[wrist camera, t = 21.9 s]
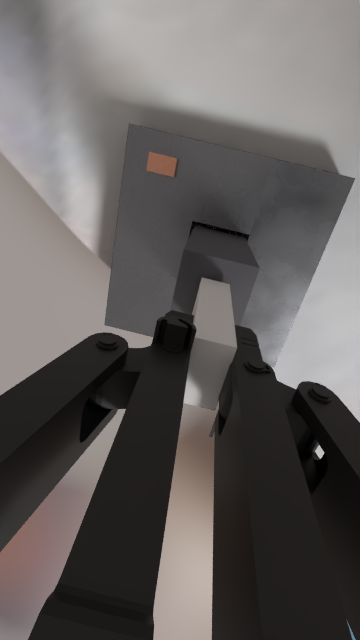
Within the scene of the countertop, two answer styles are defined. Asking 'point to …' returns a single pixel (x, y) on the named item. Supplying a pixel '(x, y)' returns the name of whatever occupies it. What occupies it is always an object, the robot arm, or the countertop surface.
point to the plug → (215, 269)
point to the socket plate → (221, 211)
